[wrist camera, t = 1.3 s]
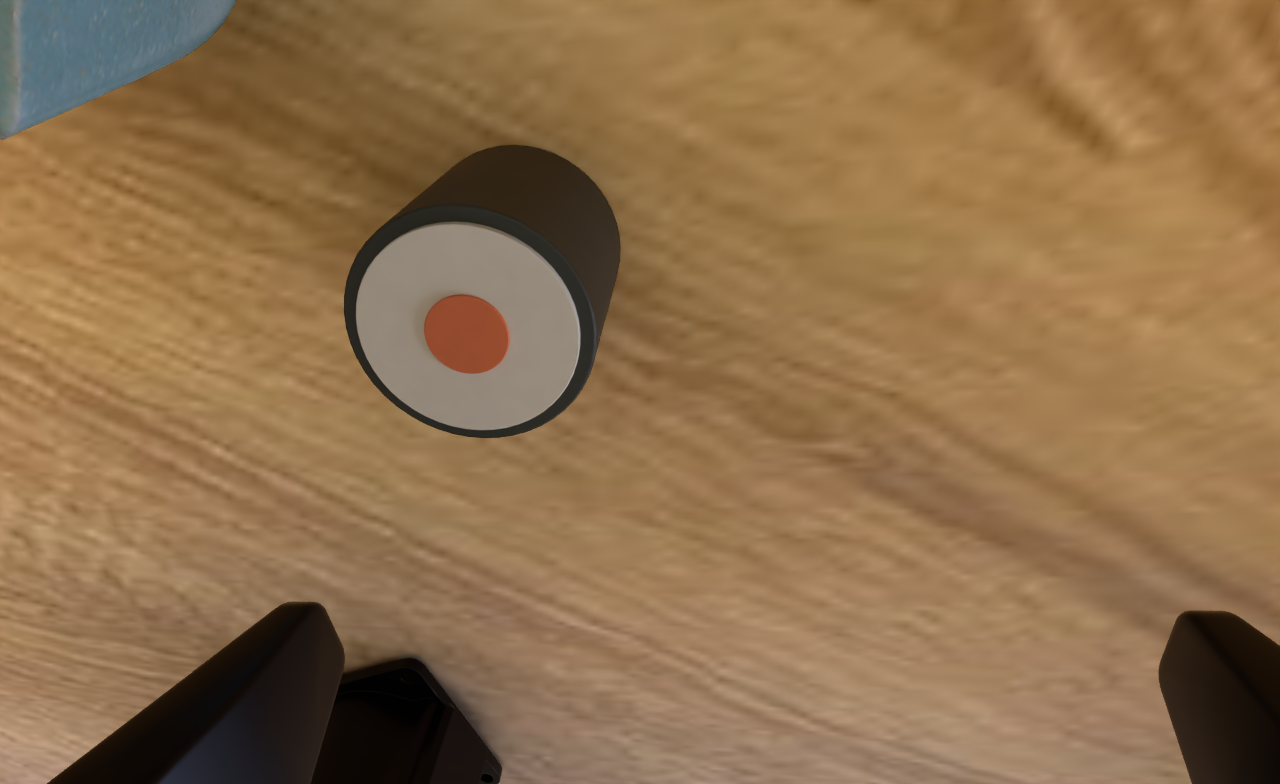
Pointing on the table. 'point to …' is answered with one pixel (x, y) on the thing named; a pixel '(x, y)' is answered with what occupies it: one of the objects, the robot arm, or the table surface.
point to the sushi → (487, 293)
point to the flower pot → (90, 49)
